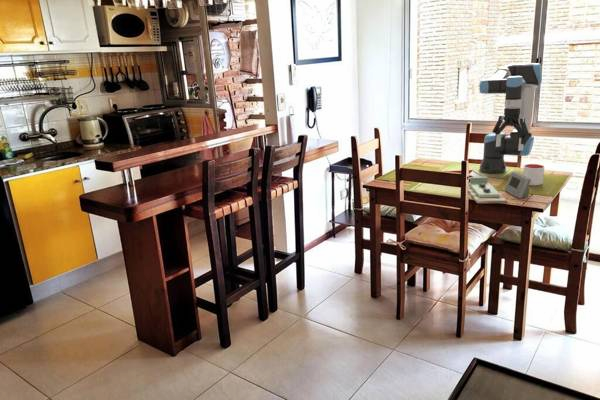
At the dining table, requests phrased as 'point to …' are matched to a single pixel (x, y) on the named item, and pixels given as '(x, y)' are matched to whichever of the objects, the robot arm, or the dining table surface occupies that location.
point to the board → (486, 199)
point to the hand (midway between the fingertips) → (509, 148)
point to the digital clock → (518, 185)
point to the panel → (479, 191)
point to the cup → (534, 173)
